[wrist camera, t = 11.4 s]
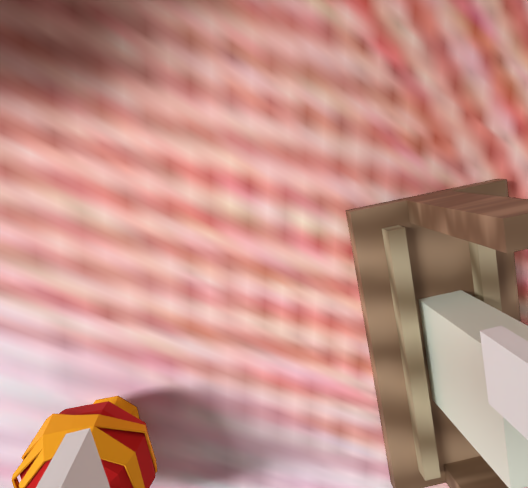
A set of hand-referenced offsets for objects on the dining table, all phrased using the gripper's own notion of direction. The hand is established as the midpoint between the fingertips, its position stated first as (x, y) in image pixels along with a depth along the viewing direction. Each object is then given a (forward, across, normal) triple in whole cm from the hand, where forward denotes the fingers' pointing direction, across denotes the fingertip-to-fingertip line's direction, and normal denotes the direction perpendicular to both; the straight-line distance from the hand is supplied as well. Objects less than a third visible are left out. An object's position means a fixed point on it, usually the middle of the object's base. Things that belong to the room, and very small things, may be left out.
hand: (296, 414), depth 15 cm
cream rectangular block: (+24, +16, -13) cm, 31 cm away
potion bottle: (+26, -16, -13) cm, 33 cm away
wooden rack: (+25, +16, -13) cm, 32 cm away
